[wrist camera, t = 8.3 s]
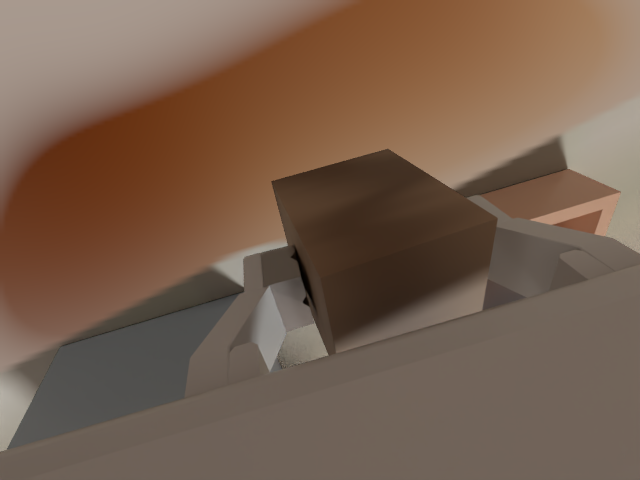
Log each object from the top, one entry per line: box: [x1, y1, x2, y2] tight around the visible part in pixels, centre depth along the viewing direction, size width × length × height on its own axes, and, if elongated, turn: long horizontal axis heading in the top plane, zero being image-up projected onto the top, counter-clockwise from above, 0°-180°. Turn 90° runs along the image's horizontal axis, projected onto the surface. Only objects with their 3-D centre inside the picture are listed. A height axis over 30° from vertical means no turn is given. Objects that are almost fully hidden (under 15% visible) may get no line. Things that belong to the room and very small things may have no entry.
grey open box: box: [7, 292, 282, 450], centre depth 15 cm, size 8×8×5 cm
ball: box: [482, 279, 527, 310], centre depth 16 cm, size 3×3×3 cm
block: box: [272, 149, 498, 355], centre depth 10 cm, size 4×4×5 cm
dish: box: [480, 169, 621, 236], centre depth 16 cm, size 9×9×2 cm
